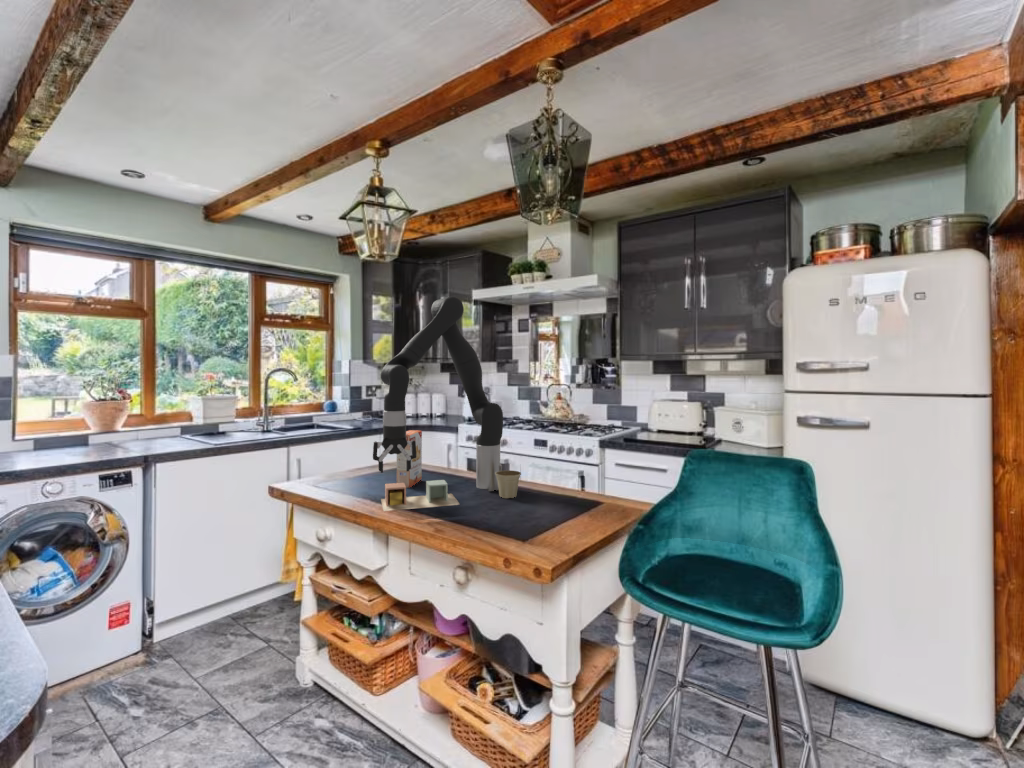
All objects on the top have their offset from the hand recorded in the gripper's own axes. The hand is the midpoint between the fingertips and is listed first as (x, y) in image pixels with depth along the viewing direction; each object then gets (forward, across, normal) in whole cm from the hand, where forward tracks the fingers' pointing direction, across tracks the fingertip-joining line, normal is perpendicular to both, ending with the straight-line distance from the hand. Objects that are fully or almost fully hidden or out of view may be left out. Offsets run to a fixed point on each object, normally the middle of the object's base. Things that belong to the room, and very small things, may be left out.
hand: (394, 471), depth 175 cm
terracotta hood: (+11, 0, 0) cm, 11 cm away
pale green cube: (+10, -14, 0) cm, 18 cm away
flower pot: (+12, -40, 0) cm, 42 cm away
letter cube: (+11, 0, 0) cm, 11 cm away
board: (+12, -8, +1) cm, 14 cm away
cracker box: (+12, -8, -29) cm, 32 cm away
